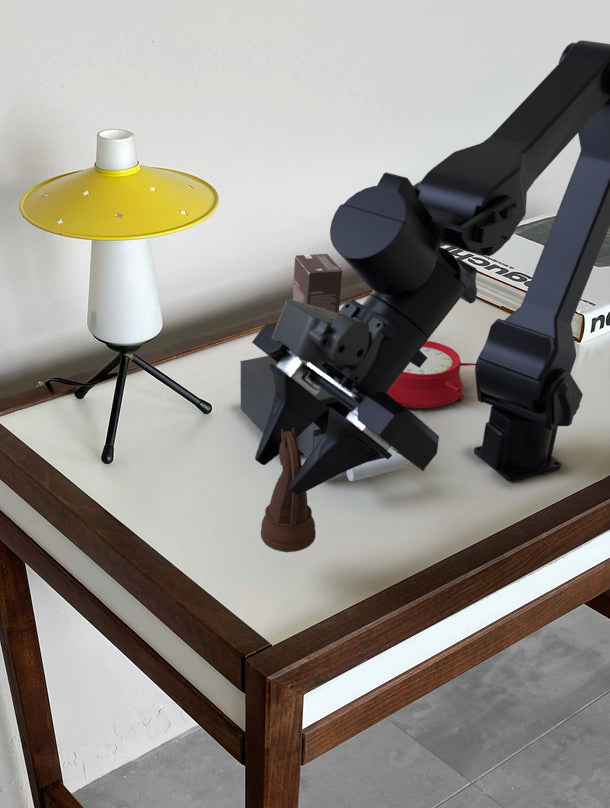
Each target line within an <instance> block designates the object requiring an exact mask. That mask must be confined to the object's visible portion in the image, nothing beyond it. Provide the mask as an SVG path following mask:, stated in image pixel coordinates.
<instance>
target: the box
mask: <svg viewBox="0 0 610 808" xmlns="http://www.w3.org/2000/svg"><path fill="white" fill-rule="evenodd" d="M342 278H343V270H342V268H341V267H339V266H338V264H337V263H336V262H335V261H334V260H333V259H332V257H330V255H329V254H328V253H314V254H297V255H295V256H294V267H293V287H292V300H295V301H298V302H302V303H306V304H309V305H313V306H317V307H320V308H324V309H326V310H329V311H332V312H335V313H338V312H339V311H340V306H341V291H342V290H341V289H342Z"/></svg>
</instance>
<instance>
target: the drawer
mask: <svg viewBox="0 0 610 808" xmlns="http://www.w3.org/2000/svg"><path fill="white" fill-rule="evenodd" d="M325 405H326V406H327V407H328V409H327V410H326V411H325V412H324V413H323V414H322V415H320V416H319V417H318V418H317V419H316V420H315V421H314V422H313V423H312V424H311V425H310V426H309V427H308V428H306V429H305V430H304V431H303V432H302V433H301V434H300V435H299V436H298V437H297V438H296V442H297V446H298V448H299V450H300V451H301V452H302V453H301V454H302V455H304V456H305V457H306V459H307V458H308V457H309V455H310V454H311V453H312V451H313V450H314V448H315V447H316V446H317V444H318V443H319V442H320V440H321V439H322V437H323V436H324V435H325V433H326V431H327V425H328V416H329V409H330V407H331V408H333V409H334V410H335V411H337V412H338V413H339V414H341V415H342V416H343V417H345V418H346V416H347V415H348V414H349V412H350V411H352V410H351V409H349V408H348V407H347V406H345V405H344V404H343V403H341V402H340V401H339V402H334V403H330V404H325ZM388 452H389V453H390V454H392V456H391V457H390V458H389V459H388V460H387V459H386V458H385V457H379V458H376V459H374V460H371V461H369V462H366V463H364V464H361V465H359V466H357V467H354V468H352V469H349V470H347V471H345V472H346V477H347V479H348V481H350V482H355V481H359V480H363V479H367V478H372V477H375V476H379V475H382V474H387V473H391V472H396V471H398V470H402V469H407V468H408V467H409V461H408V460H407V459H406V458H404V457H403V456H402V455H400V454H399V453H398V452H397V451H396V450H395V449H394V448H393V447H392V446H391V447H390V448H389V449H388ZM345 472H344V473H345Z"/></svg>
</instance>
